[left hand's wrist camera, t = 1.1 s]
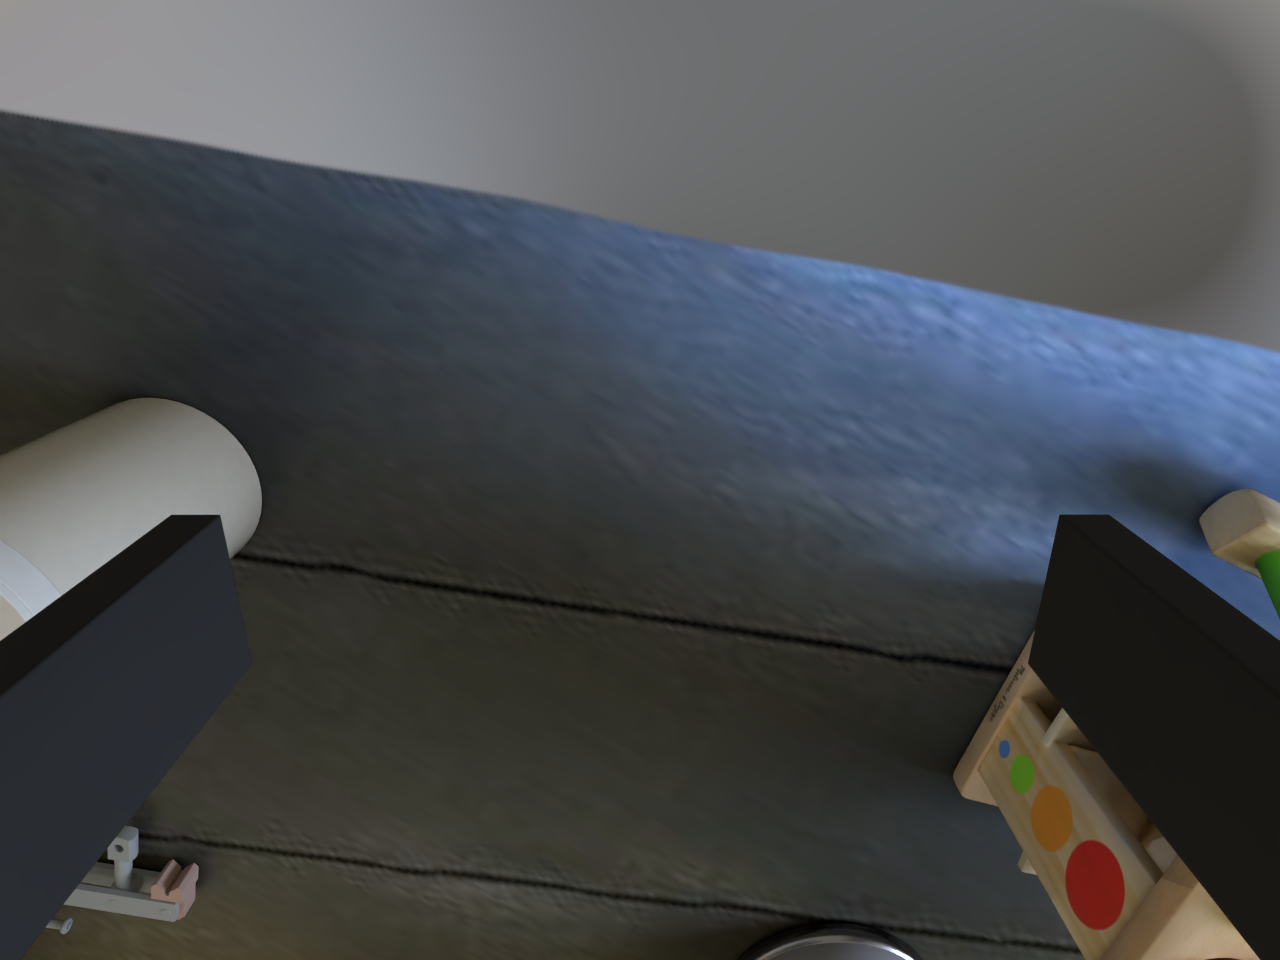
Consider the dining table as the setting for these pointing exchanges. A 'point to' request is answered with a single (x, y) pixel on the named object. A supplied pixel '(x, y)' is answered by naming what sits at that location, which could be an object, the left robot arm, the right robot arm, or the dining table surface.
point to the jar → (122, 485)
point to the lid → (21, 590)
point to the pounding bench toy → (1108, 796)
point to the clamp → (133, 886)
